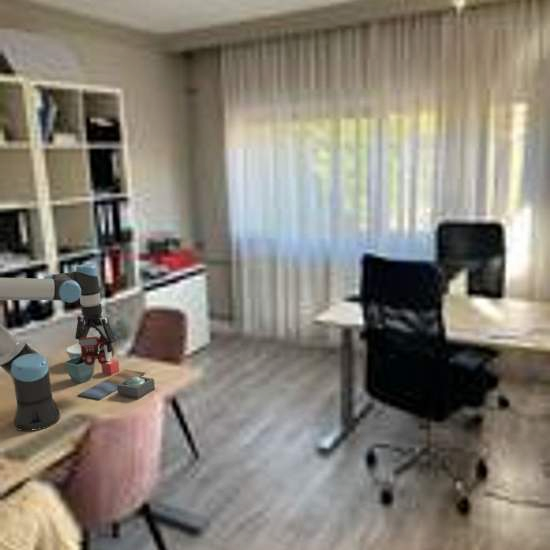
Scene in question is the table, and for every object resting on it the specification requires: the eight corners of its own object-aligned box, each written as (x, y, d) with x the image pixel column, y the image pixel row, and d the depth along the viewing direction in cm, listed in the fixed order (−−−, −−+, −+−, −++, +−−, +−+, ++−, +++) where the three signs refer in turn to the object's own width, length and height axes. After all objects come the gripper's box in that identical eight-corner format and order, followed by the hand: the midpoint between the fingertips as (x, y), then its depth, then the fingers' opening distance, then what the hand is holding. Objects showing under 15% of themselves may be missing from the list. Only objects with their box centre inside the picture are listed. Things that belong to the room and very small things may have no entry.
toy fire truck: (113, 363, 225) (110, 337, 223) (80, 366, 224) (77, 340, 221) (115, 357, 232) (112, 332, 230) (83, 360, 230) (80, 335, 228)
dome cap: (137, 393, 223) (136, 381, 222) (123, 391, 226) (122, 379, 225) (149, 386, 229) (147, 374, 228) (134, 384, 232) (133, 372, 231)
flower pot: (79, 386, 237) (76, 365, 235) (66, 381, 242) (63, 361, 240) (97, 379, 243) (94, 358, 242) (84, 374, 249) (82, 355, 247)
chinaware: (71, 372, 252) (69, 355, 251) (65, 362, 265) (63, 346, 264) (106, 365, 259) (104, 348, 258) (99, 355, 272) (97, 339, 271)
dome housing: (138, 399, 221) (137, 388, 220) (118, 395, 225) (116, 384, 224) (154, 389, 230) (153, 378, 229) (134, 385, 234) (133, 375, 233)
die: (111, 375, 246) (110, 364, 245) (102, 374, 249) (101, 362, 248) (119, 371, 251) (118, 360, 250) (110, 369, 253) (109, 358, 252)
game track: (99, 400, 222) (99, 398, 222) (77, 396, 227) (77, 394, 227) (145, 373, 246) (145, 372, 246) (125, 370, 251) (125, 369, 251)
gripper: (121, 303, 221) (127, 358, 226) (75, 299, 231) (81, 351, 236) (107, 309, 214) (114, 364, 219) (61, 304, 225) (68, 357, 229)
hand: (97, 358), depth 228 cm, fingers closed on toy fire truck, 11 cm apart
